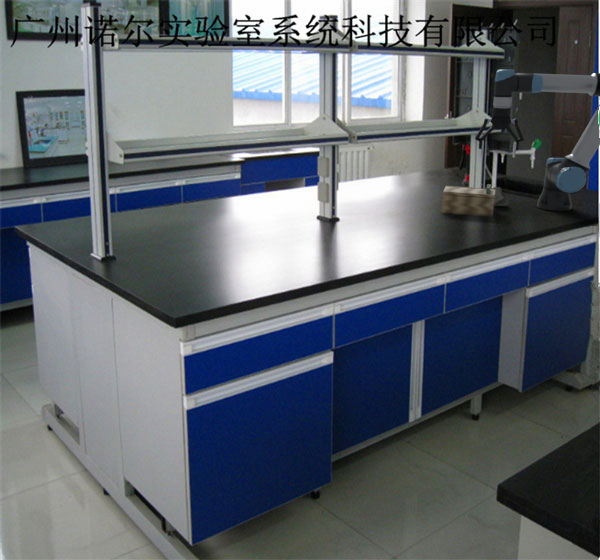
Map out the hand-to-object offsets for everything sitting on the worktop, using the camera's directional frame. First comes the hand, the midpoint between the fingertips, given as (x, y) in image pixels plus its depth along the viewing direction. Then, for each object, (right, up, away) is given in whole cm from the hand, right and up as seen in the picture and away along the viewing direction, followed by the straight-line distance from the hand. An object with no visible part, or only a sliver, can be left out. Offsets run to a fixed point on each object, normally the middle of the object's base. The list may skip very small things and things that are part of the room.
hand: (497, 157), depth 312 cm
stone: (+4, -19, +21) cm, 29 cm away
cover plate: (-11, -15, +6) cm, 20 cm away
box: (-11, -23, +9) cm, 27 cm away
